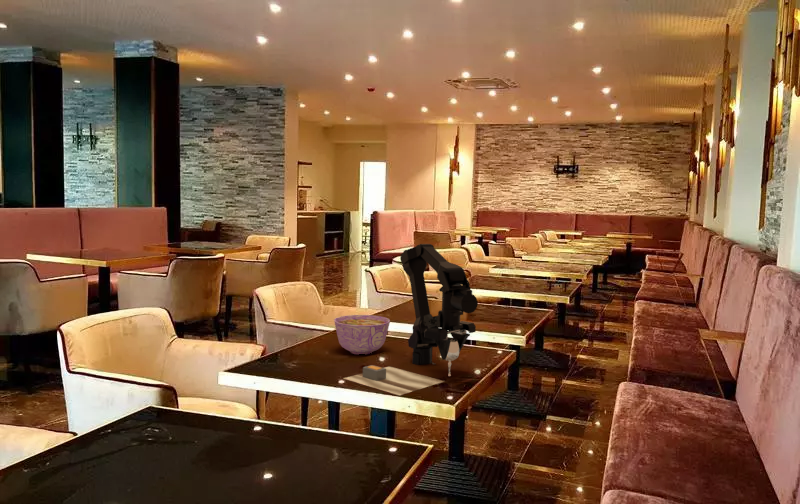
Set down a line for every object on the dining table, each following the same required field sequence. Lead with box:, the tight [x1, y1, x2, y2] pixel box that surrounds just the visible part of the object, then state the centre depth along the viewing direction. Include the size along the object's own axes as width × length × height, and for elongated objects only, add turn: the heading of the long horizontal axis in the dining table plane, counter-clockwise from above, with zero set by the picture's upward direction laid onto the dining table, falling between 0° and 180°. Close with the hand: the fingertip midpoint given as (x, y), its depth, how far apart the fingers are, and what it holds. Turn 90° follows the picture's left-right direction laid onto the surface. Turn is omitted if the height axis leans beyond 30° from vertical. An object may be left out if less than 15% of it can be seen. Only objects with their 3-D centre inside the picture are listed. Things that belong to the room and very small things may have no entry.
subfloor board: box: [343, 366, 445, 396], centre depth 196 cm, size 20×23×1 cm
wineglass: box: [444, 338, 460, 377], centre depth 202 cm, size 6×6×12 cm
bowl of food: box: [333, 314, 391, 355], centre depth 234 cm, size 20×20×12 cm
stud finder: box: [362, 364, 386, 381], centre depth 198 cm, size 4×6×3 cm, turn 47°
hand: (449, 357), depth 202 cm, fingers closed on wineglass, 6 cm apart
